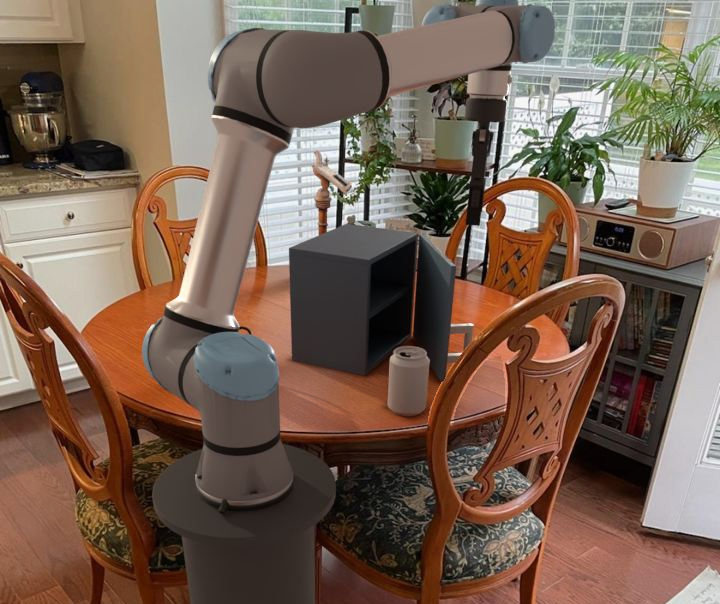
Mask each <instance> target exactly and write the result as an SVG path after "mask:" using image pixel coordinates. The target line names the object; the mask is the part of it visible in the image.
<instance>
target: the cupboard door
mask: <svg viewBox="0 0 720 604" xmlns="http://www.w3.org/2000/svg"><path fill="white" fill-rule="evenodd" d="M456 273H457V266H456V264H455V263H454V262H453V261H452V260H451V259H449V257H447V255H446V254H445V253H444V252H442V251H441V250H440V249H439V248H438V247H437V246H436V245H435V244H434V243H433V242H432V241H431V240H430V239H429V238H428V237H427V236H426V235H425V234H421V233H418V247H417V262H416V277H415V292H414V307H413V322H412V339H413V341H414V342H415V343H416V346H417V347H419V348H422V349H424V350H425V351H426V352H427V355H426V356H427V357H428V358H429V359H430V363H429V366H430V367H431V369H432V370H433V372H434V373H435V375H436V377H437V378H438V380H439V381H440V382H441V383H444V382H443V381H444V379H445V377H446V378H447V368H448V364H456V363H455V362H456V361H457V360H458V358H459V357H460V355H461V354H462V353H463V351H464V350H465V348H466V347H467V346H468V345H469V344H470V343H471V342H472V343H473V334H474V323H467V322H466V323H452V317H453V316H452V315H453V306H454V305H453V304H454V296H455V294H454V293H455V284H456ZM453 334H454V335H457V334H461V335H462V334H464V337H463V338H464V339H463V346H462V347H463V349H462V352H449V347H450V338H451V335H453Z"/></svg>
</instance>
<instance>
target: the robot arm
mask: <svg viewBox="0 0 720 604" xmlns="http://www.w3.org/2000/svg"><path fill="white" fill-rule="evenodd" d="M554 17H555V16H554V15H553V12H552V11H551V10H550V8H548V7H547V6H545V5H538V4H537V5H535V4H533V3H528V4H526V5H525V4H524V5H523V4H522V5H519V1H518V0H475V5H452V4H441V5H440V4H438V5H435V6H433V7H431V8H430V9H429V10H428V11H427V12H426V14H425V15H424V17H423V19H422V22H421V25H420V26H416V27H412V28H407V29H402V30H398V31H393V32H389V33H385V34H380V35H376V34H375V33H373V32H372V31H369V30H367V29H361V30H356V31H350V32H325V31H314V30H307V29H265V28H262V27H250V28H245V29H242V30H238V31H233V32H232V33H230V34H229V35H227V36H225V37H224V38H223V39H222V40H221V41H220V42H219V43H218V44H217V45H216V47H215V49H214V50H213V52H212V55H211V57H210V60H209V64H208V67H207V69H208V70H207V85H208V89H209V90H210V93H211V98H212V100H213V102H214V105H213V110H212V114H211V118H210V119H211V121H212V123H213V126H214V127H215V129H216V131H217V140H216V143H215V148H214V151H213V156H212V160H211V163H210V168H209V171H208V176H207V180H206V184H205V189H204V192H203V197H202V200H201V205H200V208H199V213H198V217H197V220H196V224H195V228H194V232H193V236H192V241H191V245H190V249H189V253H188V257H187V262H186V265H185V269H184V273H183V277H182V282H181V285H180V289H179V293H178V296H177V297H176V298H174V299H172V300H170V301H168V302H167V303H166V304H165V307H164V311H163V315H162V317H160V318H158V319H157V321H156V322H155V323H152V324H151V325H150V327H149V328H148V329H147V331H146V333H145V335H144V338H143V341H142V347H141V353H142V360H143V365H144V367H145V369H146V371H147V372H148V374H149V375H150V377H151V378H153V380H154V381H155V382H157V384H158V385H159V386H160V387H161V388H162V389H163V390H165V391H166V392H168V393H170V394H172V395H174V396H175V397H177V398H178V399H180V400H181V401H183V402H184V403H185V404H187V405H189V406H190V407H192V408H193V409H194V410H196V411H197V412H199V414H200V419H201V421H200V422H201V431H202V439H203V440H202V441H203V446H202V449H203V450H202V454H201V457H200V461H199V465H198V469H197V473H196V477H195V480H196V489H197V493H198V495H199V497H200V498H201V499H202V500H203V501H204V502H206V503H207V504H209V505H211V506H214V507H216V508H219V511H218V512H219V513H221V514H225V511H226V510H230V511H251V510H257V509H262V508H266V507H269V506H272V505H274V504H276V503H278V502H280V501H282V500H283V499H284V498H286V497H287V496H288V495H289V494H290V492H291V491H292V489H293V485H294V476H293V469H292V467H291V465H290V463H289V461H288V458H287V455H286V452H285V450H284V447H283V445H282V444H283V441H282V440H281V414H280V385H279V384H280V377H281V376H280V370H279V365H278V359H277V354H276V352H275V350H274V348H273V347H272V346H271V345H270V343H268V342H267V341H266V340H264V339H263V338H260V337H259V336H256V335H253V334H252V335H250V334H249V333H246V334H242V333H241V332H239V331H240V330H239V327H240V324H239V322H238V320H237V318H236V316H235V313H234V311H235V308H236V304H237V301H238V297H239V293H240V290H241V286H242V282H243V279H244V274H245V271H246V267H247V263H248V260H249V257H250V252H251V249H252V244H253V242H254V237H255V233H256V230H257V226H258V223H259V219H260V215H261V211H262V208H263V204H264V200H265V196H266V193H267V189H268V185H269V181H270V177H271V174H272V171H273V167H274V163H275V160H276V157H277V156H278V155H279V154H281V153H282V152H284V151H286V150H288V149H290V146H291V145H290V144H291V142H292V141H291V140H292V138H293V135H294V134H293V133H294V131H295V129H312V128H317V127H322V126H326V125H329V124H333V123H336V122H340V121H342V120H347V119H350V118H352V117H356V116H358V115H361V114H364V113H369V112H371V111H375V110H378V109H379V108H381V107H382V106H383V105H384V104H385V102H386V101H387V99H388V98H390V97H394V96H397V95H401V94H406V93H408V92H412V91H415V90H419V89H423V88H426V87H429V86H430V87H431V86H433V85H435V84H440V83H443V82H447V81H451V80H454V79H457V78H461V77H464V76H467V86H466V94H467V95H469V97H467V99H466V100H465V110H464V111H465V112H464V119H465V120H466V121H468V122H477V127H476V129H475V130H472V136H471V143H472V145H471V146H472V147H471V156H472V164H471V165H472V166H471V173H470V181H469V182H466V184H465V189H468V198H467V207H466V218H465V225H466V226H478V227H479V226H480V227H481V219H482V212H483V208H484V198H485V191H486V190H485V189H486V181H487V178H490V173H491V172H490V171H488V167H487V165H488V158H489V157H490V156H491V150H492V144H494V138H495V137H494V136H495V132H494V131H491V129H492V127H493V126H492V123H504V122H505V120H506V116H507V109H508V101H507V99H506V98H505V97H506V96H508V95H509V89H510V85H509V84H512V83H514V77H513V76H510V75H511V73H512V72H511V71H512V63H522V64H528V63H538V62H541V61H543V60H544V59H545V58H546V57H547V55H548V54H549V53H550V51H551V49H552V47H553V44H554V42H555V35H556V34H555V30H556V22H555V18H554Z"/></svg>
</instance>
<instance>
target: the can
mask: <svg viewBox="0 0 720 604" xmlns="http://www.w3.org/2000/svg"><path fill="white" fill-rule="evenodd" d="M426 355H427V352H426V351H425V350H424V349H422V348H419V347H418V346H413V345H402V346H400V347H398V348H396V349H395V350H394V352H393V353H392V354H391V355H390V356H389V366H388V367H389V368H388V389H387V407H388V408H389V409H390V410H391V412H393V413H394V414H396V415H398V416H403V417H414V416H418V415H419V414H421V413H423V411H425V410H426V408H427V401H428V399H427V397H428V389H429V388H428V385H429V374H430V364H429V363H430V359H429V358H428V357H427V356H426Z"/></svg>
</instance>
